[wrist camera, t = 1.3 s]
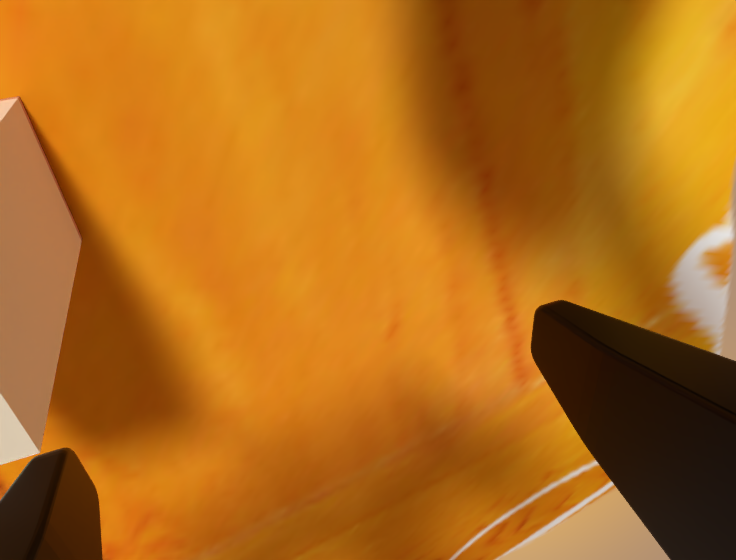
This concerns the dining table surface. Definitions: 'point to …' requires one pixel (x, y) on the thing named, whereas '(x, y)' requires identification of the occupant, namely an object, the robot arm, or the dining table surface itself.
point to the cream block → (30, 281)
